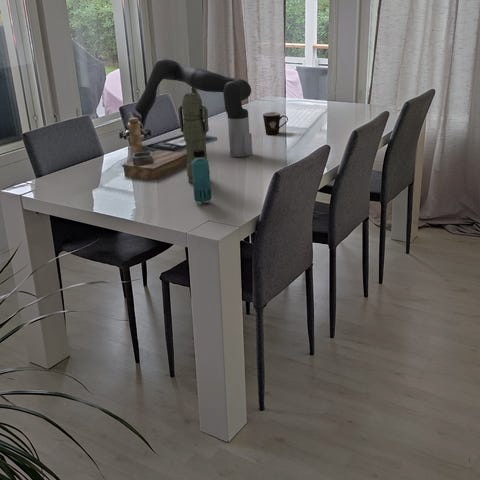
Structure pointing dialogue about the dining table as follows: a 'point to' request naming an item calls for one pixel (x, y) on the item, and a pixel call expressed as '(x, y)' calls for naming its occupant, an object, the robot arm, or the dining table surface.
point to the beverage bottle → (201, 177)
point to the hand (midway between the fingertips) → (135, 136)
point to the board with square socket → (154, 164)
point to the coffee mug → (272, 122)
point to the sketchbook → (174, 144)
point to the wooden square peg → (135, 135)
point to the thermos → (193, 127)
